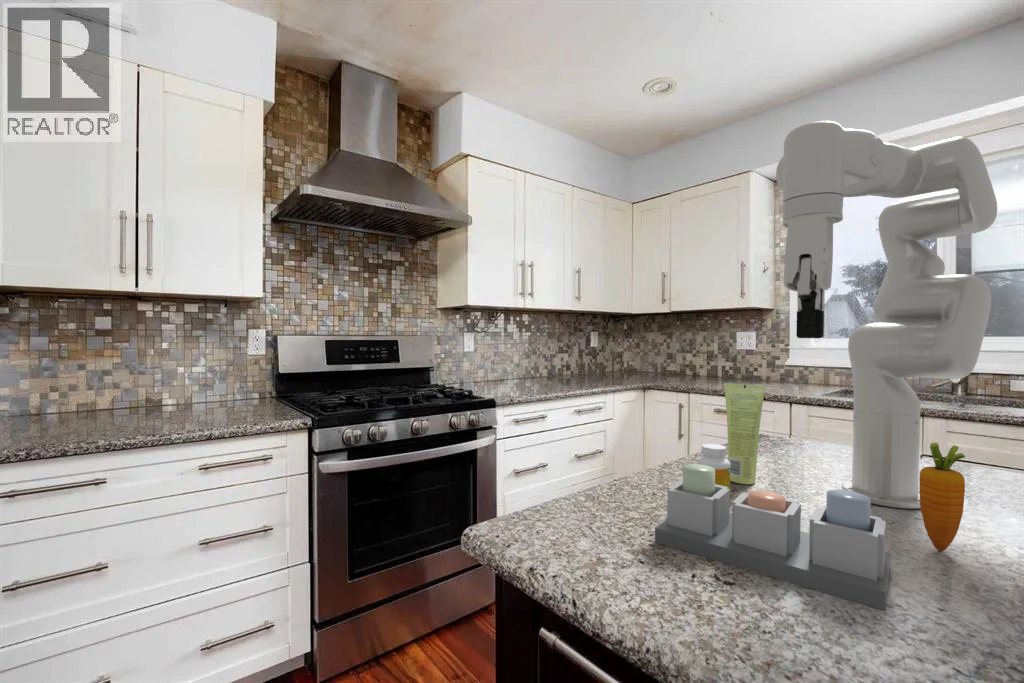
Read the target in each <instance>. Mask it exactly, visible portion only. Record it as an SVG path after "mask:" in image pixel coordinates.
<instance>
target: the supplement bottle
mask: <svg viewBox="0 0 1024 683" xmlns="http://www.w3.org/2000/svg"><path fill="white" fill-rule="evenodd" d="M701 454H702V455H701V456H699V457H698V459H697V463H696V464H700V465H706V466H710V467H712V468H714V469H715V484H716V485H721V486H726V487H728V489H730V490H731V481H730V462H729V461H728V458H726V456H727V447H726V446H724V445H720V444H715V443H704V444H702V445H701Z"/></svg>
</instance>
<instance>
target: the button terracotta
mask: <svg viewBox="0 0 1024 683" xmlns="http://www.w3.org/2000/svg"><path fill="white" fill-rule="evenodd" d="M785 498H786V497H785V496H783V495H782V494H779V493H777V492H773V491H766V490H752V491H751V492H749V493H748V505H749V506H753V507H758V508H762V509H767V510H771V511H776V512H781V513H785Z"/></svg>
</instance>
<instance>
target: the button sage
mask: <svg viewBox="0 0 1024 683" xmlns="http://www.w3.org/2000/svg"><path fill="white" fill-rule="evenodd" d="M682 480H683V491H685V492H689V493H694V494H698V495H703V496H707V497H712V496H713V495H715V469H714V468H712V467H710V466H706V465H700V464H697V463H689V464H685V465H684V464H683V466H682Z"/></svg>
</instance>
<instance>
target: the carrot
mask: <svg viewBox="0 0 1024 683" xmlns="http://www.w3.org/2000/svg"><path fill="white" fill-rule="evenodd" d="M929 446H930V447H929V449H930V452H931V456H932V460H933V462H934V465H935V466H924V467H922V468H921V470H919V491H920V507H921V508H920V512H921V516H922V520H923V525H924V529H925V530H926V533H927V536H928V538H929V540H930V541H931V544H932V545H933V547H934V549H936V551H938V552H940V553H941V552H945V551H946V550H947V549H948V547H949V546H950V545H951V544H952V543H953V541H954V539H955V538H956V535H957V534H958V531H959V528H960V524H961V522H962V518H963V513H964V503H965V491H966V481H965V476H964V475H963V474H962V473H961V472H959V471H957V470H954V469H951V467H952V466H953V465H954V464H955V462H957V461H958V460H960V459H964V458H966V456H965V454H964V453H963V452H959V453H957V451H958V450H959V446H957V445H952V446H951V447H950V449H949V451H948V453H947V456H943V454H942V452H941V451H940V450H941V449H940V447H939V443H938V442H932V443H930V444H929Z"/></svg>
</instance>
